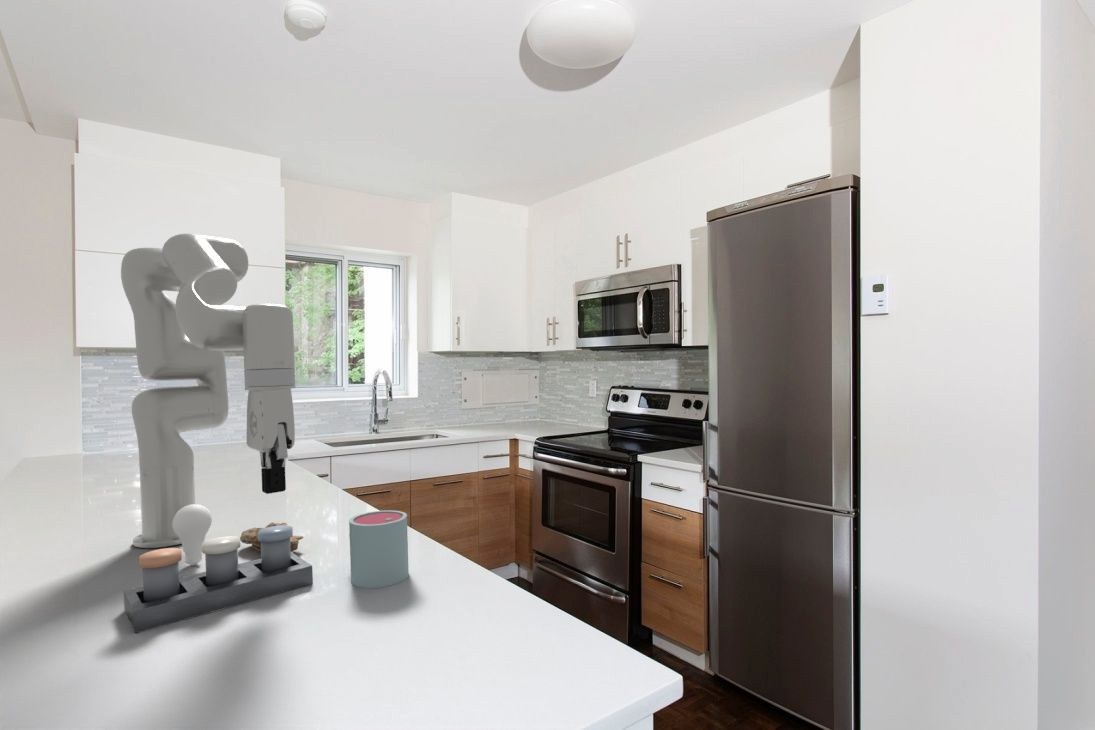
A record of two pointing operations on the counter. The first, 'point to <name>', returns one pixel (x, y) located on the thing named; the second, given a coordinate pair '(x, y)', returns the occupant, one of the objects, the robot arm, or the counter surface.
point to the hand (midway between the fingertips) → (274, 491)
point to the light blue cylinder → (275, 547)
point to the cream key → (221, 559)
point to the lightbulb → (192, 530)
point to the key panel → (214, 593)
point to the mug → (378, 548)
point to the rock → (252, 538)
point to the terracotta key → (160, 573)
